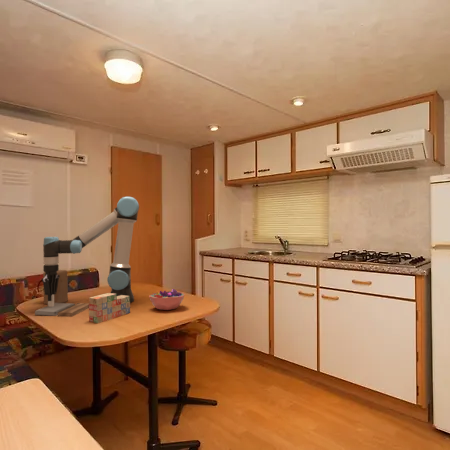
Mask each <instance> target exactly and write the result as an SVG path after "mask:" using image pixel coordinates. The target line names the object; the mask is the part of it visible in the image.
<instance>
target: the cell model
mask: <svg viewBox="0 0 450 450" xmlns="http://www.w3.org/2000/svg"><path fill="white" fill-rule="evenodd" d="M185 295H186V294H185V293H184V292H182V291H178V290H177V289H174V288H172V289H171V290H169V291H168V290H167V291H166V290H163V291H162V290H159V292H154V293H153V292H152V293H151V294H150V295H148V297H149V300H150V302H151V304H152V306H153V307H155V308H156V309H157V310H161V311H163V310H164V311H170V310H176V309H177V308H179V307H180V306H181V304H182V302H183V300H184V299H185V298H184V297H185Z"/></svg>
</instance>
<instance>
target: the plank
mask: <svg viewBox="0 0 450 450" xmlns="http://www.w3.org/2000/svg"><path fill="white" fill-rule="evenodd" d="M75 304H76V303H69V302H68V303H67V302H64V303H54V306H53V307H48V305H46V306H44V307H41V308H39V309H36V310H34V315H35V316H37V315H38V316H51V317H52V316H54V317H56V316H57V317H58V312H60V311H62V310H64V309H66V308H69V307H71V306H73V305H75Z"/></svg>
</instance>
